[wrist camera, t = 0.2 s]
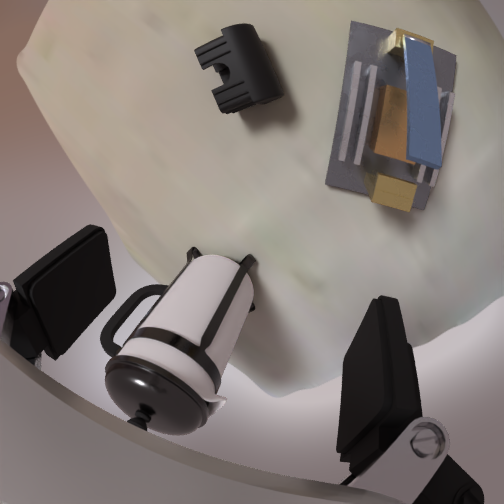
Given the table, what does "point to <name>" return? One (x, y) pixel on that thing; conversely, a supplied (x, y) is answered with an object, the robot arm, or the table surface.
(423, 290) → the table surface
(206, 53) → the end cap
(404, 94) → the block
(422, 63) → the strap
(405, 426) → the robot arm
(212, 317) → the coffee press
